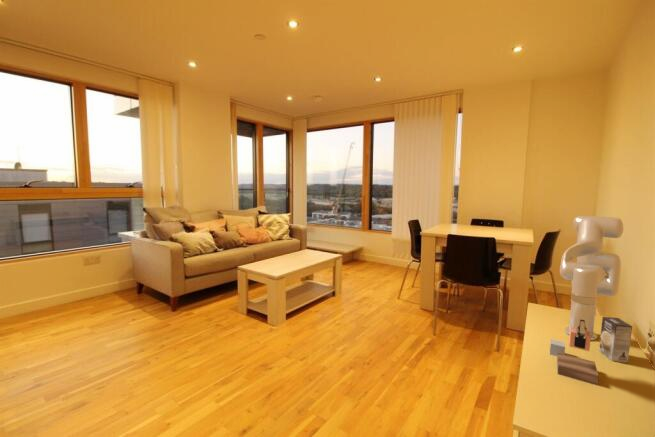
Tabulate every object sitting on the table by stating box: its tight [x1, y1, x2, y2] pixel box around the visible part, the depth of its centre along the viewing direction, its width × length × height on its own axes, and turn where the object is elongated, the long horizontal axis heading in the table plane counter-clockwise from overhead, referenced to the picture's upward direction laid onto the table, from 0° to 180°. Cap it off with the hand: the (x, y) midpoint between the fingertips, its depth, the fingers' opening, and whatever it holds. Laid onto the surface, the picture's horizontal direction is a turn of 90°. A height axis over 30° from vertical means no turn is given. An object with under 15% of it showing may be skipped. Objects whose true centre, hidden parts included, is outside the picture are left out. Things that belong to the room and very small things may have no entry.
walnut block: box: [556, 353, 599, 386], centre depth 126 cm, size 12×12×4 cm
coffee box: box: [598, 316, 633, 363], centre depth 138 cm, size 9×6×16 cm
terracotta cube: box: [568, 327, 592, 352], centre depth 124 cm, size 6×6×6 cm
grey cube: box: [549, 339, 566, 357], centre depth 140 cm, size 5×5×5 cm
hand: (578, 343), depth 125 cm, fingers closed on terracotta cube, 6 cm apart
